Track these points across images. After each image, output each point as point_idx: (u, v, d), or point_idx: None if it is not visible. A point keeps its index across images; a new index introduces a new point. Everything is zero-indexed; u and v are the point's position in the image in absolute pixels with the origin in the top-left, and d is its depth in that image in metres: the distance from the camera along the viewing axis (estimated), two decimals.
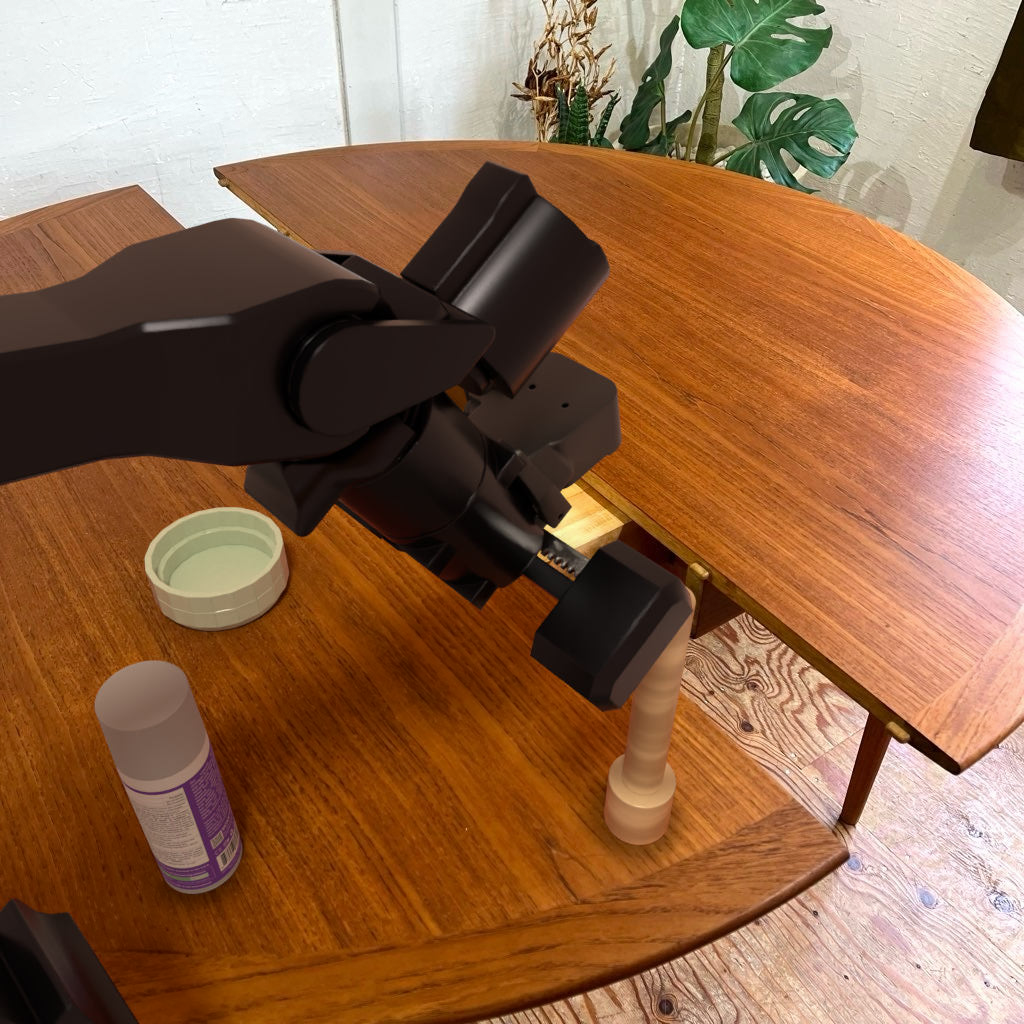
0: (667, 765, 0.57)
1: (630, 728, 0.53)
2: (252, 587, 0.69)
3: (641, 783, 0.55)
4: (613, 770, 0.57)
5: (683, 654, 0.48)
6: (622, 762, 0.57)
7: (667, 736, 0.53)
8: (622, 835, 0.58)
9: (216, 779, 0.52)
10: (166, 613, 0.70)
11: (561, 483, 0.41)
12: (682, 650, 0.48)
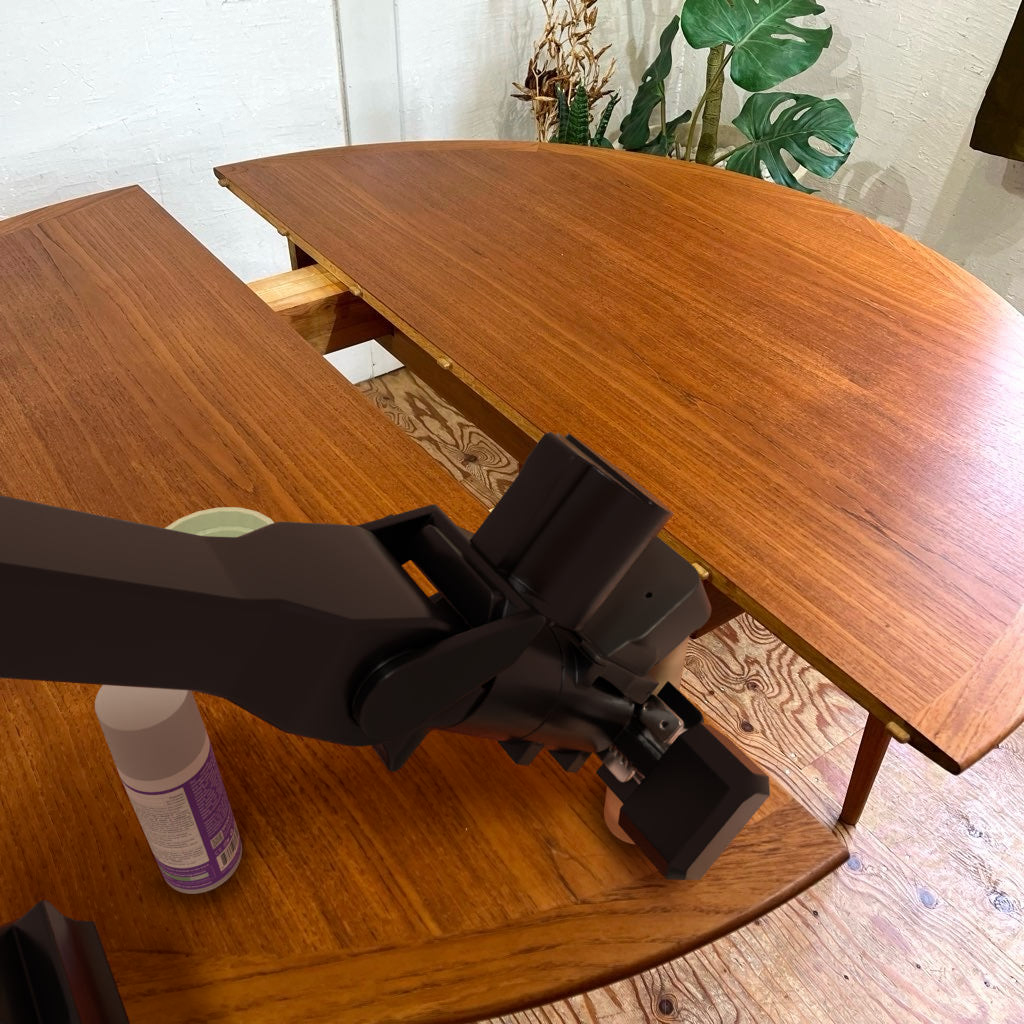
0: None
1: None
2: None
3: None
4: None
5: (683, 654, 0.48)
6: None
7: None
8: (622, 835, 0.58)
9: (216, 779, 0.52)
10: None
11: (645, 670, 0.44)
12: (682, 649, 0.48)
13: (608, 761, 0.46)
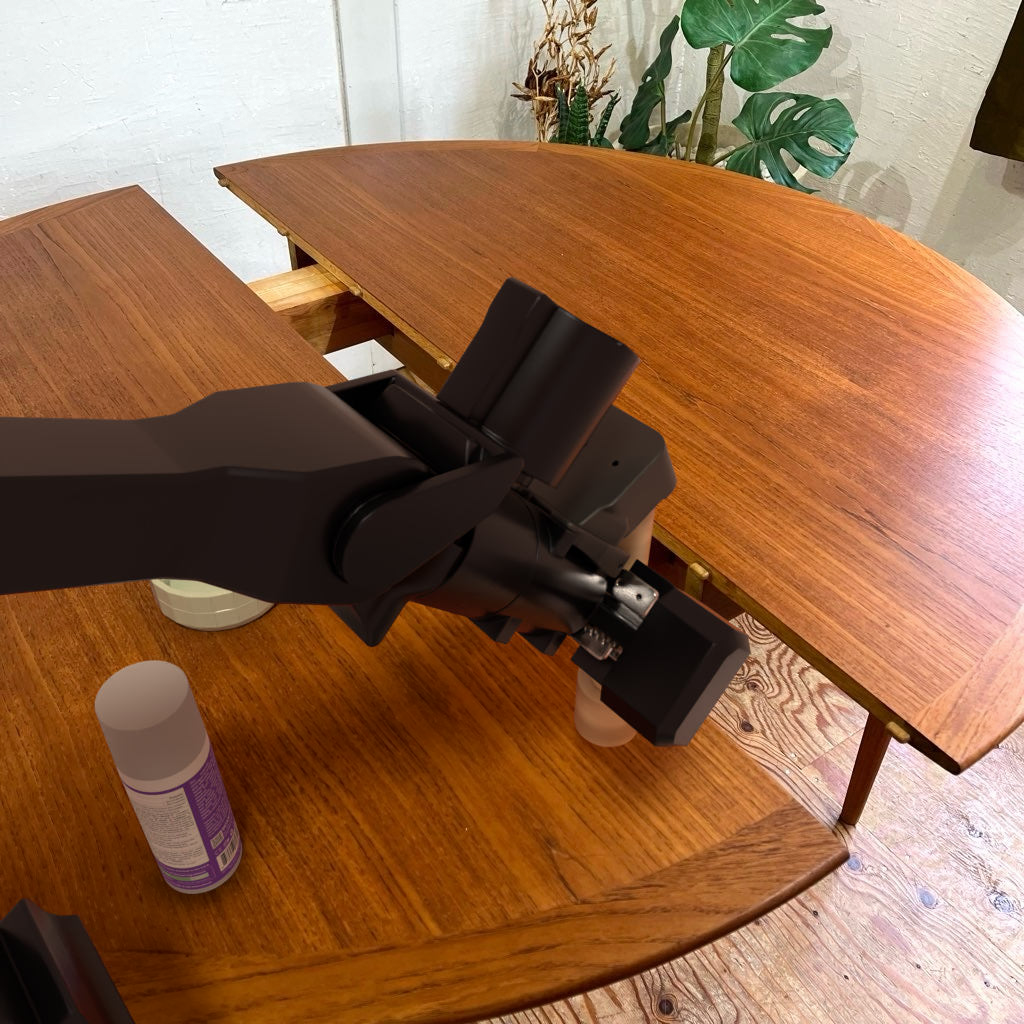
0: None
1: None
2: None
3: None
4: (582, 672, 0.56)
5: (649, 533, 0.48)
6: None
7: None
8: (595, 738, 0.57)
9: (216, 779, 0.52)
10: (166, 613, 0.70)
11: (617, 540, 0.43)
12: (648, 528, 0.48)
13: (584, 641, 0.45)
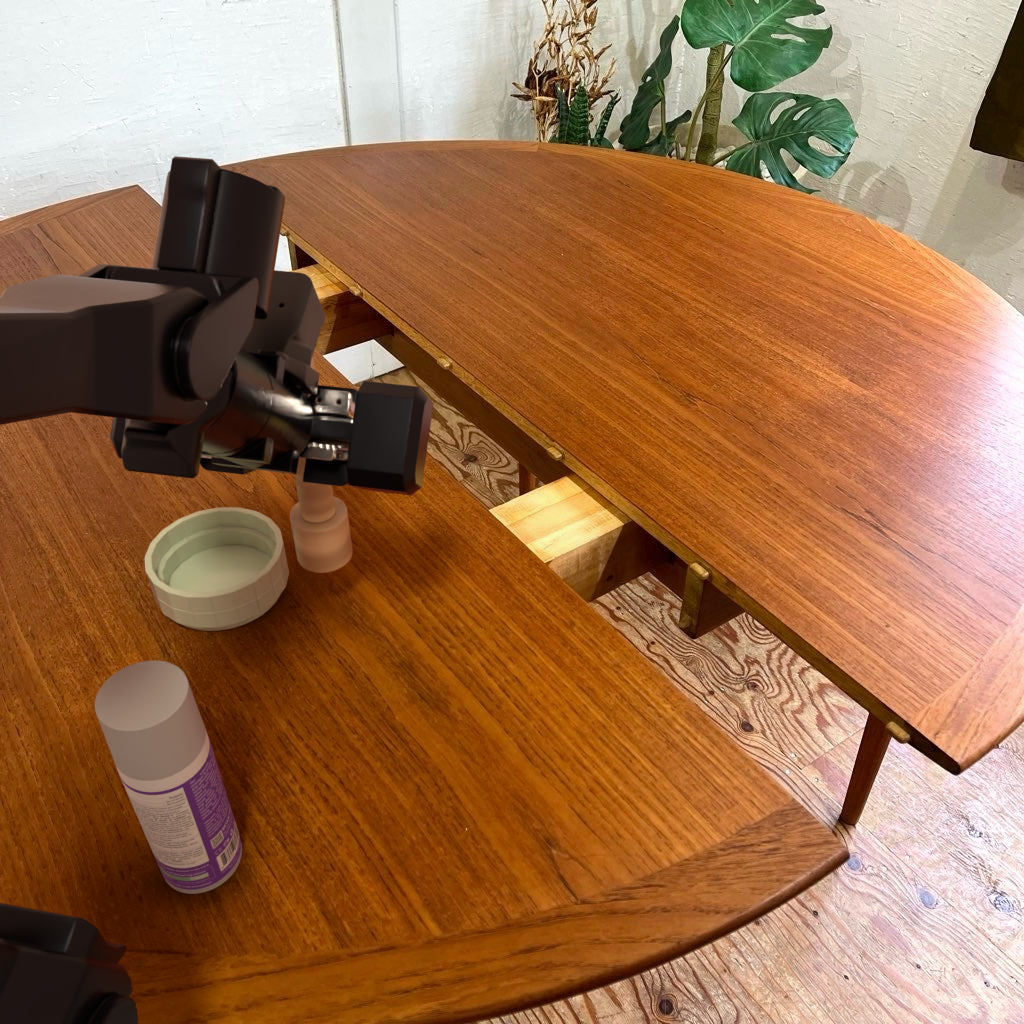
0: None
1: None
2: (252, 587, 0.69)
3: (323, 508, 0.66)
4: (294, 519, 0.67)
5: (314, 366, 0.60)
6: (296, 512, 0.67)
7: None
8: (326, 566, 0.68)
9: (216, 779, 0.52)
10: (166, 613, 0.70)
11: (308, 361, 0.54)
12: (313, 361, 0.59)
13: (313, 454, 0.56)
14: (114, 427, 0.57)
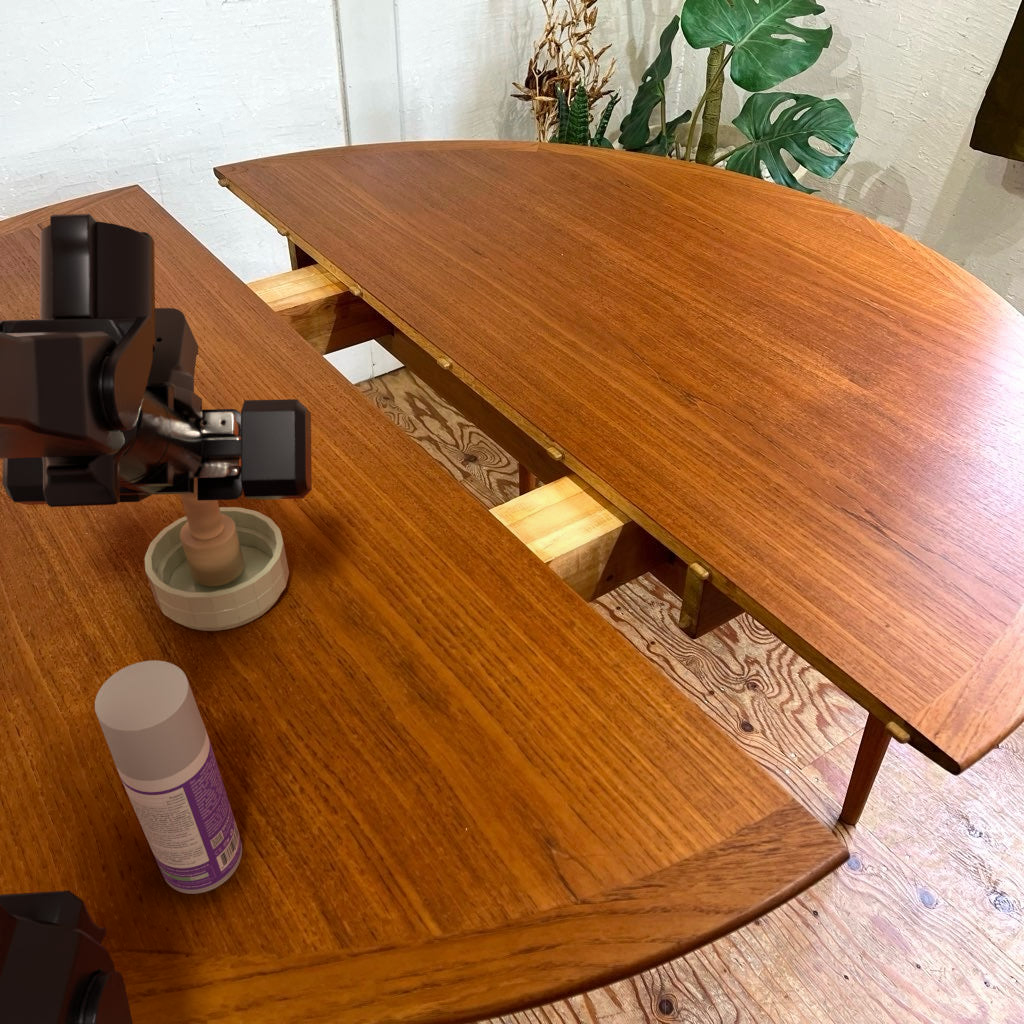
0: None
1: None
2: (252, 587, 0.69)
3: (212, 525, 0.70)
4: (185, 539, 0.71)
5: None
6: (186, 532, 0.71)
7: None
8: (222, 579, 0.72)
9: (216, 779, 0.52)
10: (166, 613, 0.70)
11: (192, 388, 0.59)
12: None
13: (206, 473, 0.61)
14: (6, 473, 0.59)
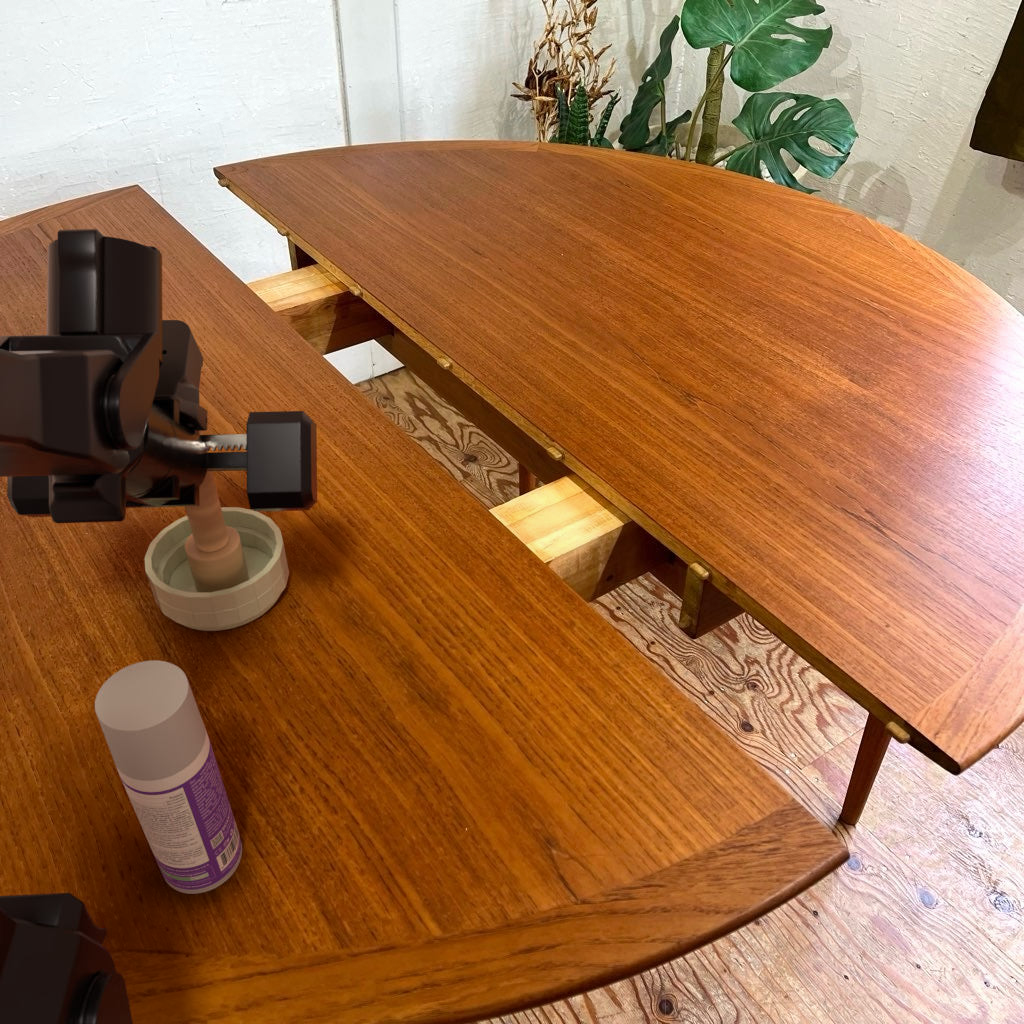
0: None
1: None
2: (252, 587, 0.69)
3: (217, 537, 0.70)
4: (190, 551, 0.70)
5: None
6: (190, 544, 0.71)
7: (215, 485, 0.68)
8: None
9: (216, 779, 0.52)
10: (166, 613, 0.70)
11: (197, 400, 0.59)
12: None
13: None
14: (11, 486, 0.59)
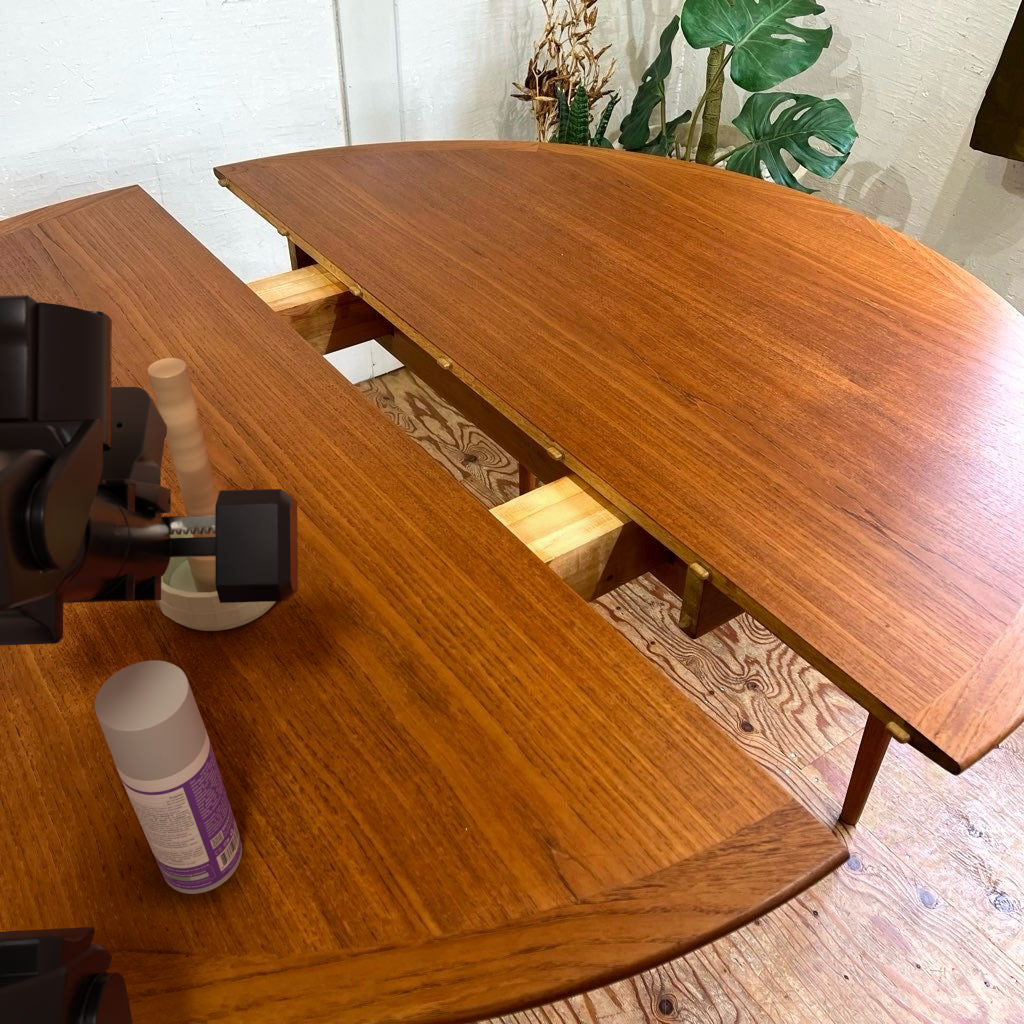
0: None
1: (188, 498, 0.67)
2: None
3: None
4: None
5: (196, 406, 0.64)
6: None
7: (215, 485, 0.68)
8: None
9: (216, 779, 0.52)
10: (166, 613, 0.70)
11: (158, 480, 0.51)
12: (194, 401, 0.63)
13: None
14: None
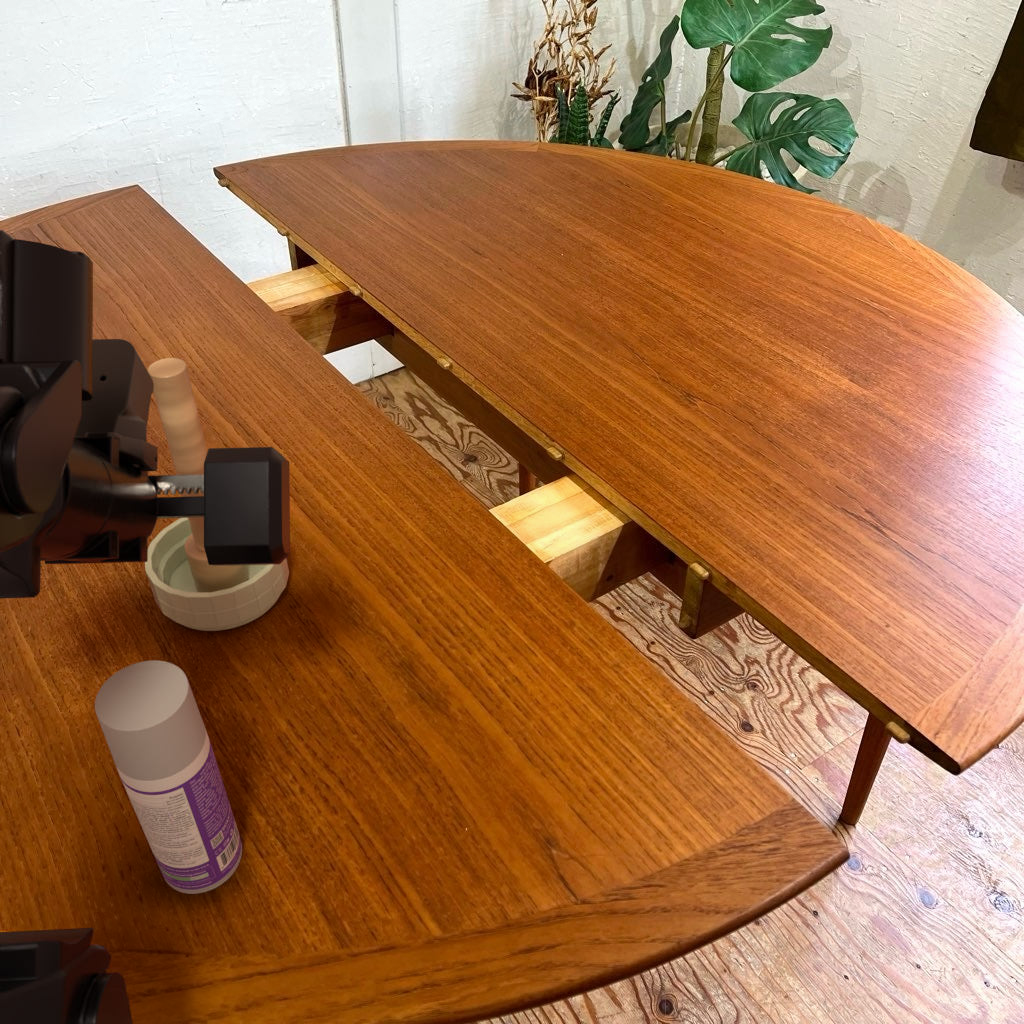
0: None
1: None
2: (252, 587, 0.69)
3: None
4: (190, 551, 0.70)
5: (196, 406, 0.64)
6: (190, 544, 0.71)
7: None
8: None
9: (216, 779, 0.52)
10: (166, 613, 0.70)
11: (144, 436, 0.49)
12: (194, 401, 0.63)
13: None
14: None
